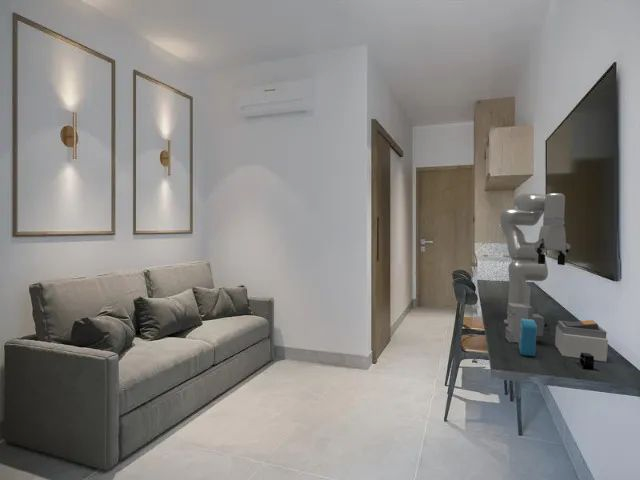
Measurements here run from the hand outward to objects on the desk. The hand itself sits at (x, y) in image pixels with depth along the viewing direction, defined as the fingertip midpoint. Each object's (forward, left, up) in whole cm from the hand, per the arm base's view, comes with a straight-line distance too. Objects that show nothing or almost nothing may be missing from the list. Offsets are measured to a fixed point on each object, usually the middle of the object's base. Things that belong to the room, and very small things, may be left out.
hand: (551, 264), depth 173 cm
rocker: (+10, +10, -23) cm, 27 cm away
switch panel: (+10, +10, -33) cm, 36 cm away
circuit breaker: (+3, -8, -33) cm, 34 cm away
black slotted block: (+27, +9, -34) cm, 44 cm away
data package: (+20, -10, -33) cm, 40 cm away
